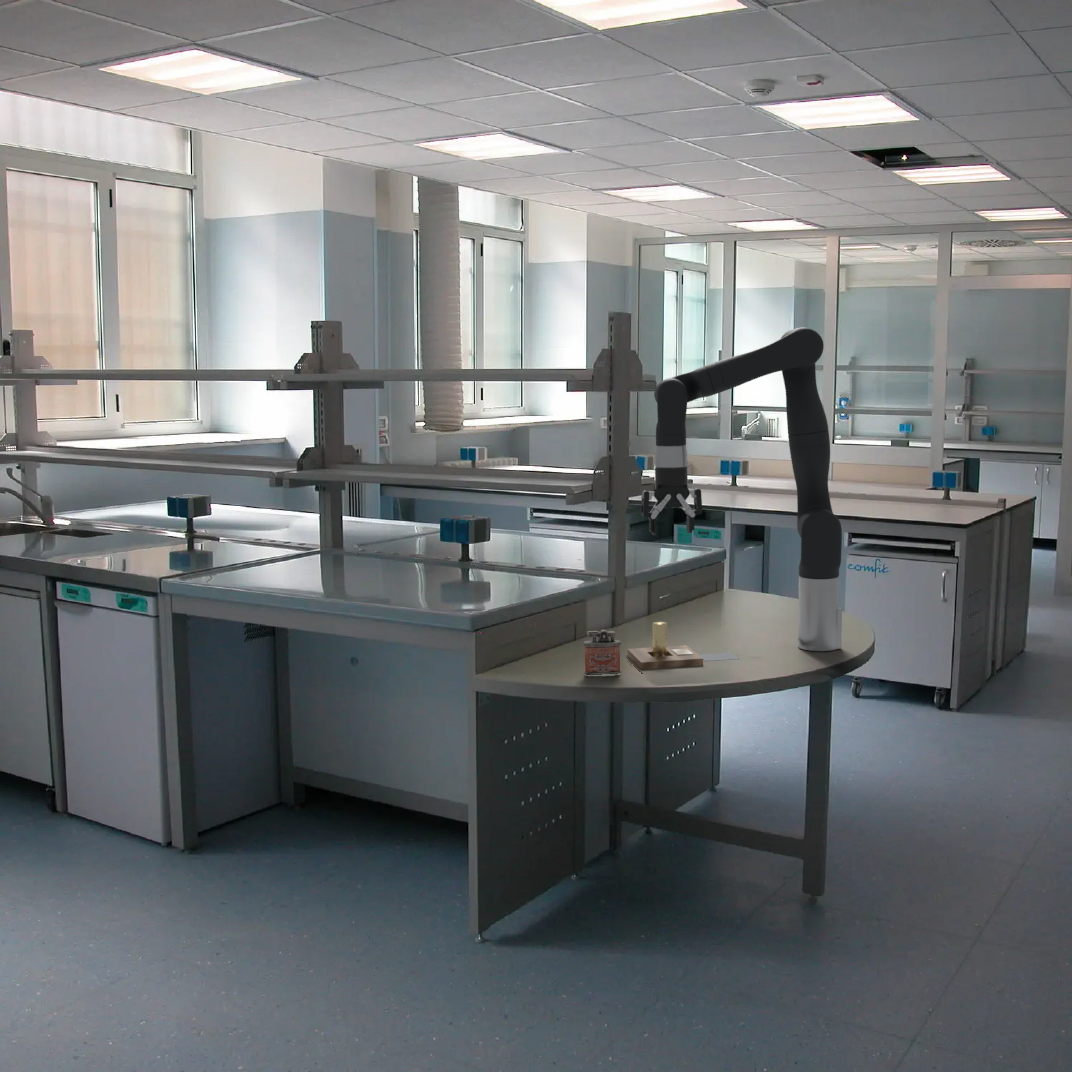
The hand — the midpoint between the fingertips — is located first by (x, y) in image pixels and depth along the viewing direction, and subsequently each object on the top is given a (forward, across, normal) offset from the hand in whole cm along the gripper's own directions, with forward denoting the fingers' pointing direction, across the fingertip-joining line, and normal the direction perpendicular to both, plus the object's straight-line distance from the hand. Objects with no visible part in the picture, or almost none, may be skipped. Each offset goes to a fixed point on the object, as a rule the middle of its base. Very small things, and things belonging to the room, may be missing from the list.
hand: (671, 533), depth 264 cm
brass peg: (+28, +7, +14) cm, 32 cm away
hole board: (+28, +6, +14) cm, 32 cm away
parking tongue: (+28, -6, +14) cm, 32 cm away
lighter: (+28, +21, +18) cm, 40 cm away
